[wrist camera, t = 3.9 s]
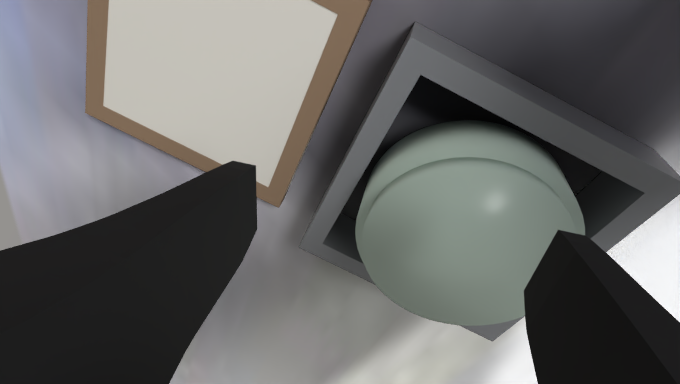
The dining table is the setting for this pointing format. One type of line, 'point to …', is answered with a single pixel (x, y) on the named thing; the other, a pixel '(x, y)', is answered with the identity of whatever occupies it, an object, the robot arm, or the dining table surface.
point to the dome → (462, 220)
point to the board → (220, 77)
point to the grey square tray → (518, 108)
